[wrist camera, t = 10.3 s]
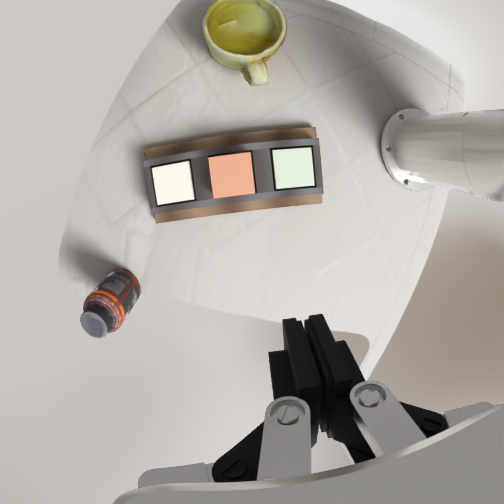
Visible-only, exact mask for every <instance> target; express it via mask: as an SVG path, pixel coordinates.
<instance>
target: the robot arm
mask: <svg viewBox="0 0 504 504" xmlns="http://www.w3.org/2000/svg"><path fill="white" fill-rule="evenodd" d="M399 117H400V118H399ZM386 148H387V149H386ZM381 151H382V156H383V160H384V163H385V166H386V168H387V170H388V172H389V174H390V175H391V176H392V178H393V179H394V180H395V181H396V182H397V183H398V184H399V185H401V186H402V187H404V188H406V189H409V190H411V191H416V192H424V191H427V190H430V189H431V188H433V187H435V186H440V187H445V188H449V189H453V190H457V191H461V192H465V193H469V194H472V195H475V196H479V197H482V198H486V199H490V200H493V201H501V202H502V201H504V109H500V110H486V111H472V112H460V113H450V114H441V115H433V116H430V115H429V114H427V113H426V112H424V111H422V110H419V109H411V108H409V109H404V110H401V111H398V112H396V113H395V114H394V115H392V116H391V117H390V119H389V120H388V121H387V123H386V125H385V127H384V130H383V133H382V140H381ZM282 322H283V336H284V350H281V351H273V352H269V363H270V372H271V379H272V388H273V396H274V401H273V402H271V403H270V404H269V406H268V407H267V409H266V412H265V420H264V422H263V423H262V424H260V425H259V426H258V427H257V428H256V429H254V430H253V431H252V432H251V433H250V434H249V435H247V436H246V437H245V438H244V439H243V440H242V441H240V442H239V443H238V444H237V445H235V446H234V447H233V448H232V449H231V450H229V451H228V452H227V453H225V454H224V455H223V456H221V457H220V458H219V459H218V460H217V461H216V462H215V463H211V464H204V463H198V464H192V465H184V466H177V467H168V468H158V469H151V470H147V471H146V472H144V473H143V474H142V475H141V476H140V478H139V481H138V488H137V489H134V490H131V491H128V492H126V493H124V494H122V495H120V496H119V497H118V498H117V499H116V500H115V501H114V503H113V504H504V402H501V403H499V404H496V405H494V406H493V405H492V404H490V403H488V402H480V403H477V404H473V405H469V406H466V407H462V408H458V409H454V410H450V411H446V412H444V414H443V415H441V414H438V413H436V412H433V411H430V410H426V409H422V408H419V407H415V406H412V405H409V404H405V403H403V402H399V401H398V400H397V399H396V398H395V397H394V395H393V394H392V393H391V392H390V390H389V389H388V388H387V387H386V386H385V385H384V384H382V383H380V382H377V381H365V379H364V377H363V375H362V373H361V371H360V369H359V367H358V365H357V363H356V361H355V359H354V357H353V355H352V353H351V351H350V349H349V347H348V345H347V343H346V342H345V341H344V340H343V341H337V342H335V340H334V338H333V335H332V333H331V331H330V329H329V327H328V325H327V323H326V320H325V318H324V316H323V314H317V315H311V316H309V319H307V320H305V321H304V327H303V324H302V322H301V320H300V321H297V320H296V318H290V319H283V321H282ZM304 328H305V330H304ZM319 425H320V429H321V432H326V433H327V436H328V438H332V437H333V439H334V440H336V441H339V442H340V445H341V448H342V450H343V452H344V454H345V456H346V458H347V460H348V462H349V464H350V466H346V467H342V468H337V469H333V470H329V471H324V472H319V473H313V474H311V448H312V447H313V446H314V445H315V444H316V442H317V434H318V429H319Z"/></svg>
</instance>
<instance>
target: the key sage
mask: <svg viewBox="0 0 504 504" xmlns="http://www.w3.org/2000/svg"><path fill="white" fill-rule="evenodd" d="M271 160H272V170H273V179H274V187H275V188H276V189H281V188H292V187H303V186H315V185H314V173H313V162H312V151H311V148H296V149H282V150H272V151H271Z"/></svg>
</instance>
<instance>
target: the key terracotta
mask: <svg viewBox="0 0 504 504" xmlns="http://www.w3.org/2000/svg"><path fill="white" fill-rule="evenodd" d="M208 161H209V168H210V176H211V183H212V190H213V198H214V199H215V198H222V197H230V196H238V195H246V194H255V187H254V178H253V170H252V161H251V153H250V152H247V153H239V154H231V155H223V156H216V157H210V158H208Z"/></svg>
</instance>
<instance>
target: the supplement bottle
mask: <svg viewBox="0 0 504 504" xmlns="http://www.w3.org/2000/svg"><path fill="white" fill-rule="evenodd" d="M139 296H140V285H139V282H138V280H137V279H136V277H135V276H134V275H133V274H131V273H130V272H128V271H126V270H121V269H119V270H115V271H113V272H111V273H110V274H109V275H108V276H107V277H106V278H105V279H104V280H103V281H102V282H101V283H100V284H99V285H98V286H97V287H96V288H95V289H94V290H93V291H92V292H91V294H90V295H89V296H88V297H87V298H86V300H85V302H84V306H83V310H84V312H83V314H82V315H81V319H80V321H81V325H82V327H83V329H84V330H85V331H86V332H87V333H88V334H89V335H91V336H92V337H95V338H103V337H104V336H106V334H107V333H111V332H114V331H116V330H118V329H119V328H120V326H121V325H122V323H123V322H124V320H125V319H126V317H127V315H128V314H129V312H130V311H131V309H132V308H133V306H134V305H135V303H136V301H137V300H138V298H139Z"/></svg>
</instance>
